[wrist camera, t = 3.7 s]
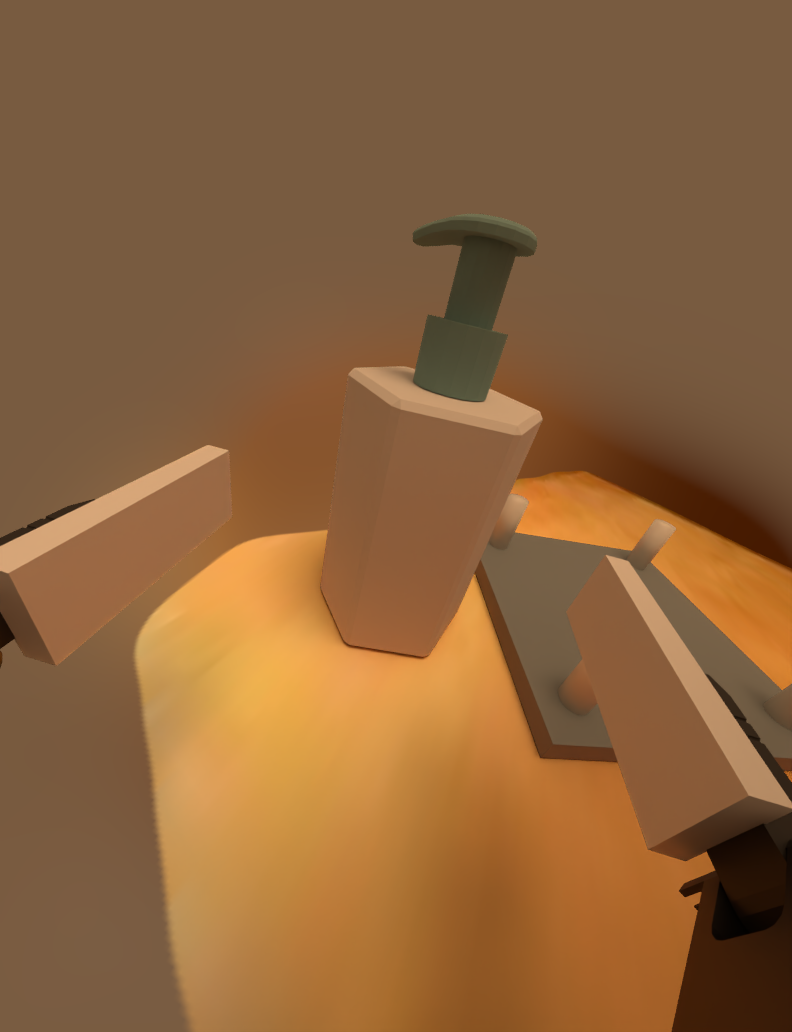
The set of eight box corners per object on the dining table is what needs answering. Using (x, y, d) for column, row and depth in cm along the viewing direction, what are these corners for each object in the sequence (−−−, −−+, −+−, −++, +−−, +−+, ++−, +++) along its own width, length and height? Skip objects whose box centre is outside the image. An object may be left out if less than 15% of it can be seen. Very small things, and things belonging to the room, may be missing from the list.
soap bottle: (377, 543, 31) (447, 243, 20) (468, 595, 28) (615, 271, 16) (293, 607, 23) (327, 163, 12) (406, 690, 20) (608, 188, 8)
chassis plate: (632, 562, 38) (668, 514, 35) (834, 773, 21) (942, 718, 18) (462, 536, 35) (484, 481, 32) (540, 757, 18) (604, 689, 15)
